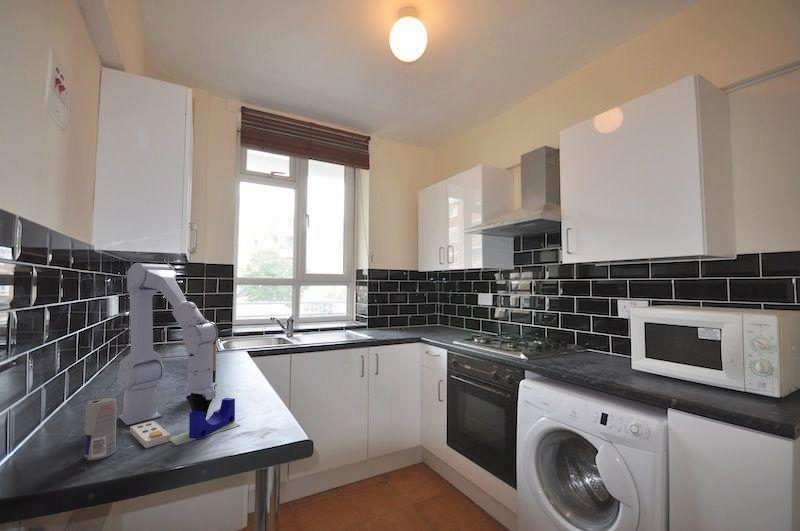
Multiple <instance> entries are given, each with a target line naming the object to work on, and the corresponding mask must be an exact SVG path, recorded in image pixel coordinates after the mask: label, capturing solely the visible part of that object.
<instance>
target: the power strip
mask: <svg viewBox="0 0 800 531" xmlns="http://www.w3.org/2000/svg"><path fill="white" fill-rule="evenodd" d="M129 430H130V431H129V432H130V434H131V435H132V436H133V437H134V438H135V439H136V440H137V441H138V442H139V443H140V444H141V445H142V446H143V447H144V448H145V449H148V448H151V447H154V446H157V445H161V444H165V443H168V442H171V441H170V437H171V434H170V433H169V431H167V430H165V428H163V427H162V426H161V425H159V424H158V423H157V422H156V421H154V420H151V421H146V422H143V423H139V424H135V425H131V426H130V427H129Z"/></svg>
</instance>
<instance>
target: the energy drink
mask: <svg viewBox="0 0 800 531" xmlns="http://www.w3.org/2000/svg"><path fill="white" fill-rule="evenodd" d="M117 402H118V401H117V399H116V396H103V397H98V398H94V399H91V400H89V401H87V402H86V405H85V417H84V418H85V420H84V425H85V426H84V452H83V453H84V456H83V457H84V459H85V460H86V461H97V460H98V461H99V460H102V459H106V458H108V457H110V456H112V455H113V454H114V453H115V452H116V450H117V449H116V448H117V411H118V409H117V408H118V407H117V406H118V404H117Z"/></svg>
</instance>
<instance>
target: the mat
mask: <svg viewBox="0 0 800 531" xmlns="http://www.w3.org/2000/svg"><path fill="white" fill-rule="evenodd" d="M240 426H241V425H240V424H239V423H237V422H236V421H233V422H232V423H230V424H228V425H226V426H224V427H222V428H220V429H218V430H216V431H214V432H212V433H210V434H208V435H206V436H205V437H207V436H211V435H215V434H218V433H221V432H224V431H227V430H231V429H233V428H237V427H240ZM195 440H197V439H193V438H189V431H187V432H183V433H179V434H177V435H176V434H175V435H173V436H170V441H169V442H171V443H172V444H173V445H175V446H179V445H182V444H185V443H189V442H193V441H195Z"/></svg>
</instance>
